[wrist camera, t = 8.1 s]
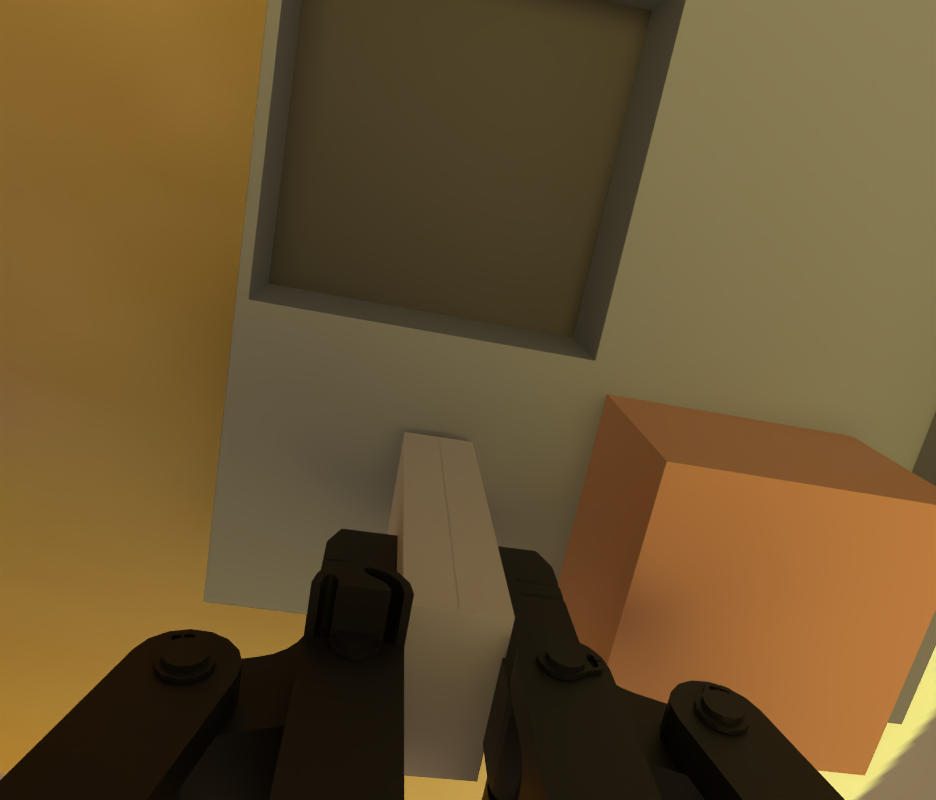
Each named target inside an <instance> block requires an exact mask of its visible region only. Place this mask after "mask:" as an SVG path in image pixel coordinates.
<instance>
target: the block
mask: <svg viewBox="0 0 936 800" xmlns="http://www.w3.org/2000/svg"><path fill="white" fill-rule="evenodd" d="M558 587H560V590H561V593H562V595H563V601H565V604H566V606H567V609H568V612H569V615H570V617H571V620H572V623H573V626H574V628H575V631H576V634H577V637H578V639H579V642H580V643H581V644H584V645H586V646H588V647H589V648H591V649H592V650H593V651H595V652H596V653H597V654H598V655H600V656H601V657H602V658H603V660H604V661H605V663H606V664H607V666H608V667H609V669H610V670H611V673H612V675H613V678H614V680H615V683H616V685H617V686H619V687H621V688H623V689H626V690H628V691H631V692H633V693H636V694H639V695H642V696H645V697H648V698H651V699H654V700H657V701H661V702H664V703H668V700H669V696H670V693H671V691H672V690H673V689H674V688H675V687H676V686H677V685H678V684H680V683H684V682H687V681H691V680H692V681H705V682H711V683H715V684H717V685H722V686H724V687H727V688H729V689H731V690H732V691H734V692H736V693H738V694H740V695H741V696H743V697H745V698H746V699H748V700H749V701H750V702H751V703H752V704H754V705H755V706H756V707H757V708H758V709H760V710H761V711H762V712H763V713H764V714H765V716H766V717H767V718H768V719H769V720H770V721H771V722H772V723H773V724H774V725H775V726H776V727H777V728H778V729H779V730H780V731H781V733H782V734H783V735H784V736H785V737H786V738H787V739H788V740H789V741H790V742H791V743H792V744H793V745H794V746H795V747H796V749H797V750H798V751H799V752H800V753H801V754H802V755H803V756H804V757H805V758H806V759H807V760H808V761H809V762H810V763H811V764H812V766H813V767H814V768H815V769H816V770H820V771H829V772H838V773H848V774H857V775H865V774H866V771H867V769H868V767H869V764H870V762H871V760H872V757H873V755H874V753H875V750H876V748H877V746H878V743H879V741H880V739H881V736H882V734H883V732H884V729H885V727H886V725H887V722H888V720H889V718H890V715H891V713H892V711H893V708H894V706H895V704H896V701H897V699H898V697H899V694H900V692H901V690H902V687H903V685H904V683H905V680H906V678H907V676H908V673H909V671H910V669H911V666H912V664H913V662H914V659H915V657H916V655H917V652H918V650H919V648H920V645H921V643H922V641H923V638H924V636H925V634H926V631H927V629H928V627H929V624H930V622H931V620H932V617H933V615H934V613H935V610H936V486H934V485H932V484H931V483H929V482H927V481H926V480H924V479H922V478H921V477H919V476H917V475H916V474H914V473H912V472H911V471H909V470H907V469H906V468H904V467H902V466H901V465H899V464H897V463H896V462H894V461H892V460H891V459H889V458H887V457H886V456H884V455H882V454H881V453H879V452H877V451H876V450H874V449H872V448H871V447H869V446H867V445H866V444H864V443H862V442H861V441H859V440H857V439H856V438H854V437H852V436H847V435H842V434H836V433H830V432H824V431H818V430H813V429H807V428H801V427H795V426H789V425H784V424H778V423H772V422H766V421H760V420H754V419H749V418H743V417H737V416H731V415H725V414H720V413H714V412H708V411H702V410H696V409H691V408H685V407H679V406H673V405H667V404H662V403H656V402H650V401H644V400H638V399H633V398H627V397H621V396H615V395H609V394H607V397H606V401H605V405H604V408H603V412H602V416H601V420H600V424H599V428H598V431H597V435H596V439H595V443H594V447H593V451H592V454H591V458H590V462H589V466H588V470H587V474H586V477H585V481H584V485H583V489H582V493H581V497H580V500H579V504H578V508H577V512H576V516H575V520H574V524H573V527H572V531H571V535H570V539H569V543H568V547H567V550H566V554H565V558H564V562H563V566H562V570H561V573H560V577H559V581H558Z"/></svg>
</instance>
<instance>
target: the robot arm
mask: <svg viewBox="0 0 936 800" xmlns="http://www.w3.org/2000/svg"><path fill="white" fill-rule="evenodd" d="M483 753H484V755H485V763H486V771H487V780H486V785H485V789H484V793H483V797H482V800H844V798H843V797H842V796H841V795H840V794H839V793H838V792H837V791H836V790H835V789H834V788H833V787H832V786H831V785H830V784H829V783H828V781H827V780H826V779H825V778H824V777H823V776H822V775H821V774H820V773H819V772H818V771H817V770H816V769H815V768H814V767H813V766H812V764H811V763H810V762H809V761H808V760H807V759H806V758H805V757H804V756H803V755H802V754H801V753H800V752H799V751H798V750H797V749H796V747H795V746H794V745H793V744H792V743H791V742H790V741H789V740H788V739H787V738H786V737H785V736H784V735H783V734H782V733H781V731H780V730H779V729H778V728H777V727H776V726H775V725H774V724H773V723H772V722H771V721H770V720H769V719H768V718H767V717H766V716H765V714H764V713H763V712H762V711H761V710H760V709H758V708H757V707H756V706H755V705H754V704H752V703H751V702H750V701H749V700H748V699H746V698H745V697H743V696H741V695H740V694H738V693H736V692H734V691H732V690H731V689H729V688H727V687H724V686H722V685H717V684H715V683H711V682H705V681H692V680H691V681H687V682H684V683H680V684H678V685H677V686H676V687H675V688H674V689H673V690H672V691H671V693H670V696H669V700H668V703H664V702H661V701H657V700H654V699H651V698H648V697H645V696H642V695H639V694H636V693H633V692H631V691H628V690H626V689H623V688H621V687H619V686H617V685H616V683H615V680H614V678H613V675H612V673H611V670H610V669H609V667H608V666H607V664H606V663H605V661H604V660H603V658H602V657H601V656H600V655H598V654H597V653H596V652H595V651H593V650H592V649H591V648H589V647H588V646H586V645H584V644H581V643H580V642H579V639H578V637H577V634H576V631H575V628H574V626H573V623H572V620H571V617H570V615H569V612H568V609H567V606H566V604H565V601H563V595H562V593H561V590H560V587H558V582H557V579H556V576H555V573H554V571H553V568H552V566H551V565H550V564H549V563H548V562H547V561H546V560H545V559H544V558H542V557H541V556H540V555H539V554H538V553H537V552H536V551H532V550H524V549H516V548H508V547H500V546H498V545H497V541H496V537H495V533H494V528H493V524H492V520H491V516H490V512H489V508H488V503H487V499H486V495H485V491H484V487H483V483H482V478H481V474H480V470H479V466H478V462H477V458H476V453H475V449H474V445H473V442H470V441H464V440H457V439H450V438H443V437H436V436H429V435H422V434H415V433H409V432H404V437H403V443H402V449H401V455H400V461H399V466H398V472H397V478H396V484H395V490H394V496H393V502H392V508H391V514H390V520H389V526H388V532H387V534H381V533H374V532H366V531H358V530H350V529H340V530H339V531H338V532H337V533H336V534H335V535H333V536H332V537H331V538H330V539H329V540H328V541H327V543H326V548H325V552H324V557H323V562H322V566H321V571H319V572H317V574H316V576H315V577H314V579H313V580H312V582H311V589H310V596H309V603H308V610H307V617H306V625H305V632H304V636H303V637H302V638H301V639H300V640H299V641H298V642H297V643H295V644H294V645H292V646H291V647H289V648H288V649H285V650H283V651H280V652H277V653H275V654H271V655H266V656H260V657H253V658H245V659H241V656H240V652H239V649H238V648H237V647H236V646H235V645H234V644H233V643H232V642H231V641H230V640H229V639H227V638H224V637H222V636H219V635H217V634H215V633H212V632H207V631H199V630H192V629H189V630H179V631H169V632H166V633H163V634H160V635H157V636H154V637H151V638H149V639H147V640H146V641H144V642H143V643H141V644H140V645H138V646H137V647H135V648H134V649H133V650H132V651H131V652H130V653H129V654H128V655H127V656H126V657H125V658H124V659H123V660H122V661H121V662H120V663H119V664H118V665H117V666H115V667H114V668H113V669H112V670H111V671H110V672H109V673H108V674H107V675H106V676H105V677H104V678H103V679H102V680H101V681H100V682H99V683H98V684H97V685H96V686H95V687H94V688H93V689H92V690H91V691H90V692H89V693H88V694H87V695H86V696H85V697H84V698H83V699H82V700H81V701H80V702H79V703H78V704H77V705H76V706H75V707H74V708H73V709H72V710H71V711H70V712H69V713H68V714H67V715H66V716H65V717H64V718H63V719H62V720H61V721H60V722H59V723H58V724H57V725H56V726H55V727H54V728H53V729H52V730H51V731H50V732H49V733H48V734H47V735H46V736H45V737H44V738H43V739H42V740H41V741H40V742H39V743H38V744H37V745H36V746H35V747H34V748H33V749H32V750H31V751H30V752H28V753H27V754H26V755H25V756H24V757H23V758H22V759H21V760H20V761H19V762H18V763H17V764H16V765H15V766H14V767H13V768H12V769H11V770H10V771H9V772H8V773H7V774H6V775H5V776H4V777H3V778H2V779H1V780H0V800H404V775H407V776H419V777H431V778H443V779H454V780H466V781H477V779H478V775H479V770H480V766H481V762H482V758H483Z"/></svg>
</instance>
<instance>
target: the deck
mask: <svg viewBox="0 0 936 800" xmlns="http://www.w3.org/2000/svg"><path fill="white" fill-rule="evenodd" d="M607 394H609V395H615V396H621V397H627V398H633V399H638V400H644V401H650V402H656V403H662V404H667V405H673V406H679V407H685V408H691V409H696V410H702V411H708V412H714V413H720V414H725V415H731V416H737V417H743V418H749V419H754V420H760V421H766V422H772V423H778V424H784V425H789V426H795V427H801V428H807V429H813V430H818V431H824V432H830V433H836V434H842V435H847V436H852V437H854V438H856V439H857V440H859V441H861V442H862V443H864V444H866V445H867V446H869V447H871V448H872V449H874V450H876V451H877V452H879V453H881V454H882V455H884V456H886V457H887V458H889V459H891V460H892V461H894V462H896V463H897V464H899V465H901V466H902V467H904V468H906V469H907V470H909V471H911V472H912V473H914V474H916V475H917V476H919V477H921V478H922V479H924V480H926V481H927V482H929V483H931V484H932V485H934V486H936V0H268V4H267V13H266V22H265V32H264V41H263V50H262V60H261V69H260V79H259V88H258V97H257V107H256V116H255V125H254V135H253V144H252V153H251V163H250V172H249V181H248V191H247V200H246V209H245V219H244V228H243V237H242V247H241V256H240V265H239V275H238V284H237V293H236V303H235V312H234V322H233V331H232V340H231V350H230V359H229V368H228V378H227V387H226V396H225V406H224V415H223V424H222V434H221V443H220V452H219V462H218V471H217V480H216V490H215V499H214V508H213V518H212V527H211V537H210V546H209V555H208V565H207V574H206V583H205V593H204V602H211V603H219V604H227V605H235V606H243V607H251V608H259V609H267V610H275V611H283V612H291V613H300V614H307V610H308V603H309V596H310V589H311V582H312V580H313V579H314V577H315V576H316V574H317V572H319V571H321V566H322V562H323V557H324V552H325V548H326V543H327V541H328V540H329V539H330V538H331V537H332V536H333V535H335V534H336V533H337V532H338V531H339V530H340V529H350V530H358V531H366V532H374V533H381V534H387V532H388V526H389V520H390V514H391V508H392V502H393V496H394V490H395V484H396V478H397V472H398V466H399V461H400V455H401V449H402V443H403V437H404V432H409V433H415V434H422V435H429V436H436V437H443V438H450V439H457V440H464V441H470V442H473V445H474V449H475V453H476V458H477V462H478V466H479V470H480V474H481V478H482V483H483V487H484V491H485V495H486V499H487V503H488V508H489V512H490V516H491V520H492V524H493V528H494V533H495V537H496V541H497V545H498V546H500V547H508V548H516V549H524V550H532V551H536V552H537V553H538V554H539V555H540V556H541V557H542V558H544V559H545V560H546V561H547V562H548V563H549V564H550V565H551V566H552V568H553V571H554V573H555V576H556V579H557V582H558V581H559V577H560V573H561V570H562V566H563V562H564V558H565V554H566V550H567V547H568V543H569V539H570V535H571V531H572V527H573V524H574V520H575V516H576V512H577V508H578V504H579V500H580V497H581V493H582V489H583V485H584V481H585V477H586V474H587V470H588V466H589V462H590V458H591V454H592V451H593V447H594V443H595V439H596V435H597V431H598V428H599V424H600V420H601V416H602V412H603V408H604V405H605V401H606V397H607ZM935 646H936V610H935V613H934V615H933V617H932V620H931V622H930V624H929V627H928V629H927V631H926V634H925V636H924V638H923V641H922V643H921V645H920V648H919V650H918V652H917V655H916V657H915V659H914V662H913V664H912V666H911V669H910V671H909V673H908V676H907V678H906V680H905V683H904V685H903V687H902V690H901V692H900V694H899V697H898V699H897V701H896V704H895V706H894V708H893V711H892V713H891V715H890V718H889V720H888V722H887V723H895V724H902V722H903V720H904V718H905V715H906V713H907V711H908V708H909V706H910V704H911V701H912V699H913V697H914V694H915V692H916V690H917V688H918V685H919V683H920V681H921V678H922V676H923V674H924V671H925V669H926V667H927V664H928V662H929V660H930V658H931V655H932V653H933V651H934V648H935Z"/></svg>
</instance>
